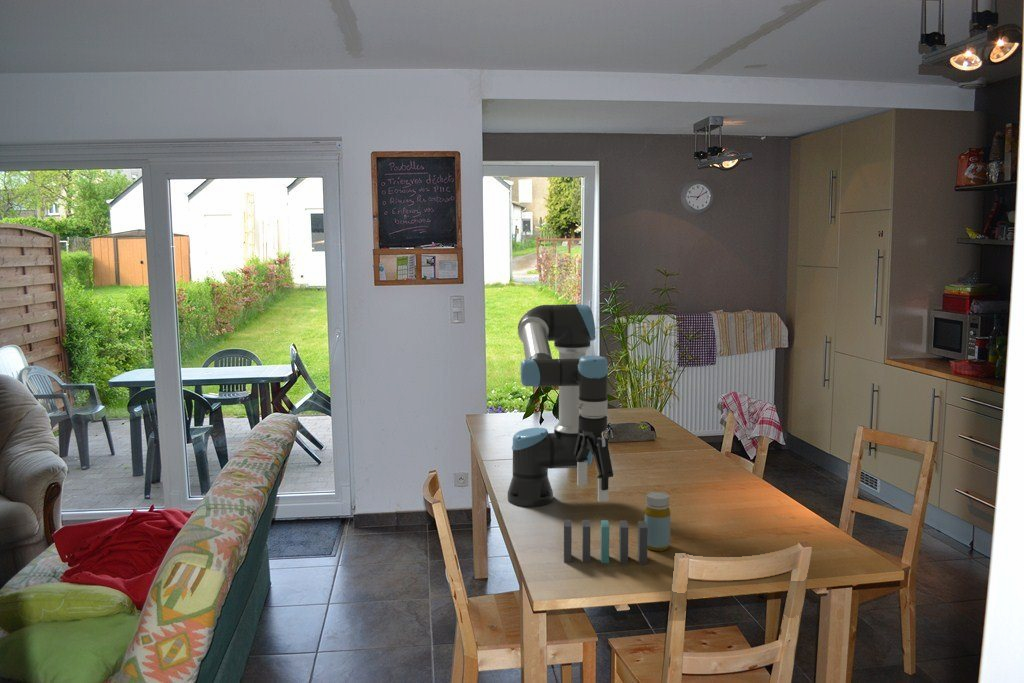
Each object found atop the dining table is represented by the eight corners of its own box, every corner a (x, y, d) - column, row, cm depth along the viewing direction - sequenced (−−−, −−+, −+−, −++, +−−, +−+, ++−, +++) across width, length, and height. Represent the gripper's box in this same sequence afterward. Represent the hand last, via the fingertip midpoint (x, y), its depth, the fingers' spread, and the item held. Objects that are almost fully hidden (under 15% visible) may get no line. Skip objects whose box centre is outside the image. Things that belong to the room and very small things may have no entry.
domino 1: (563, 562, 205) (563, 526, 203) (563, 554, 210) (563, 519, 208) (571, 562, 204) (571, 526, 203) (571, 554, 209) (571, 519, 208)
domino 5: (639, 563, 203) (639, 527, 202) (637, 556, 208) (638, 520, 207) (647, 563, 203) (647, 527, 202) (644, 556, 208) (645, 520, 207)
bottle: (666, 541, 218) (667, 490, 216) (672, 551, 211) (673, 499, 209) (641, 542, 218) (642, 491, 216) (647, 552, 211) (648, 499, 209)
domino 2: (582, 562, 204) (582, 526, 203) (582, 555, 209) (582, 519, 208) (590, 562, 204) (590, 526, 203) (589, 555, 209) (589, 520, 208)
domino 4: (620, 563, 204) (620, 527, 202) (619, 555, 209) (619, 520, 207) (628, 563, 203) (628, 527, 202) (626, 555, 208) (626, 520, 207)
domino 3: (601, 563, 204) (601, 527, 203) (600, 555, 209) (600, 520, 208) (609, 563, 204) (609, 527, 202) (607, 555, 209) (608, 520, 207)
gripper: (562, 406, 212) (561, 480, 215) (599, 427, 188) (598, 510, 191) (586, 404, 214) (586, 477, 217) (627, 424, 191) (626, 506, 194)
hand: (592, 492), depth 204 cm, fingers open, 13 cm apart
